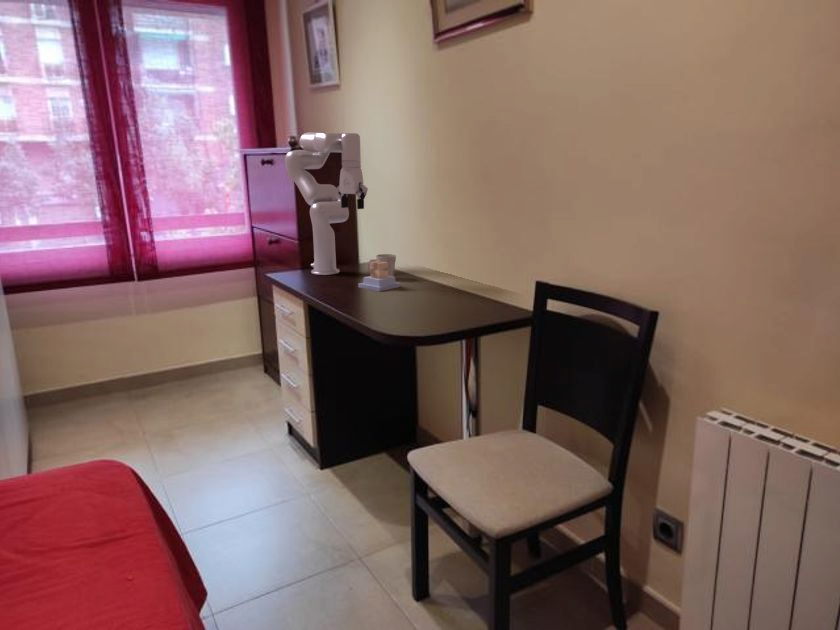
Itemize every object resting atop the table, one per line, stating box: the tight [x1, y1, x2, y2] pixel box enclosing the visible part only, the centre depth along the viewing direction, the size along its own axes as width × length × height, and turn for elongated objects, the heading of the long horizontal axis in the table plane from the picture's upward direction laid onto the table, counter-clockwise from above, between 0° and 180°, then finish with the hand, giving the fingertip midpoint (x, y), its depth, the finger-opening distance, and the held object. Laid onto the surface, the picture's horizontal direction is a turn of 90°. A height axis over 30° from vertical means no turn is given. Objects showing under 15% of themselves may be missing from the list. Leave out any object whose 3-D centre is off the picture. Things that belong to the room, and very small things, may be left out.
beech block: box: [369, 261, 388, 279], centre depth 235 cm, size 5×5×6 cm
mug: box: [366, 253, 397, 277], centre depth 253 cm, size 8×13×10 cm, turn 89°
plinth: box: [357, 275, 402, 292], centre depth 236 cm, size 12×12×4 cm
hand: (352, 208), depth 241 cm, fingers open, 9 cm apart
